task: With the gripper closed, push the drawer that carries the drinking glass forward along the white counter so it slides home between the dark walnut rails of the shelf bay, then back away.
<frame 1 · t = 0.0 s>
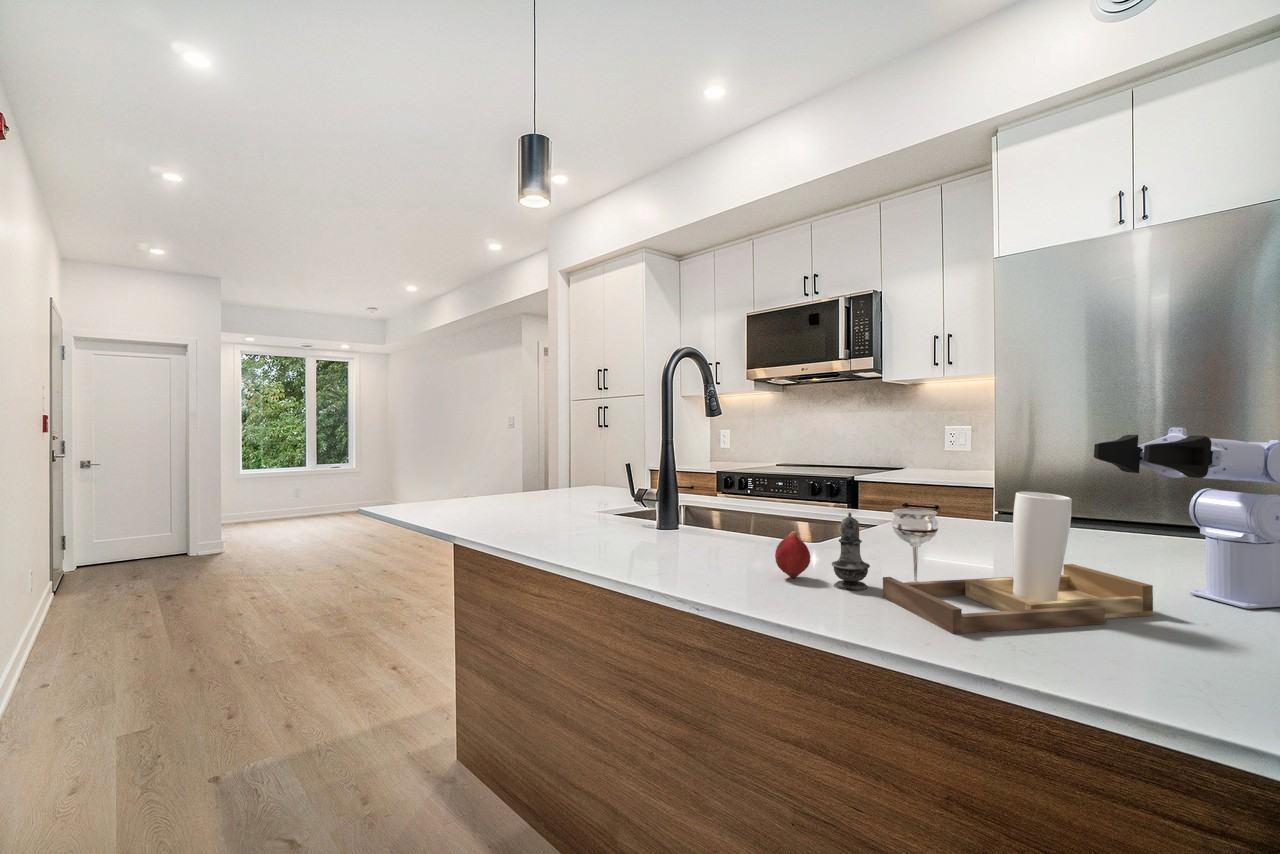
hand: (1120, 452, 86), 22 cm above the countertop, tool horizontal, fingers open, 7 cm apart
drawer: (1053, 591, 88), point 2 cm above the countertop, slide at 0.0 cm, touching drinking glass
wineglass: (915, 587, 99), on the countertop
drinking glass: (1034, 601, 87), point 1 cm above the countertop, touching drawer
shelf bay: (989, 609, 86), on the countertop
salt shaker: (850, 587, 100), on the countertop
onion: (792, 579, 106), on the countertop
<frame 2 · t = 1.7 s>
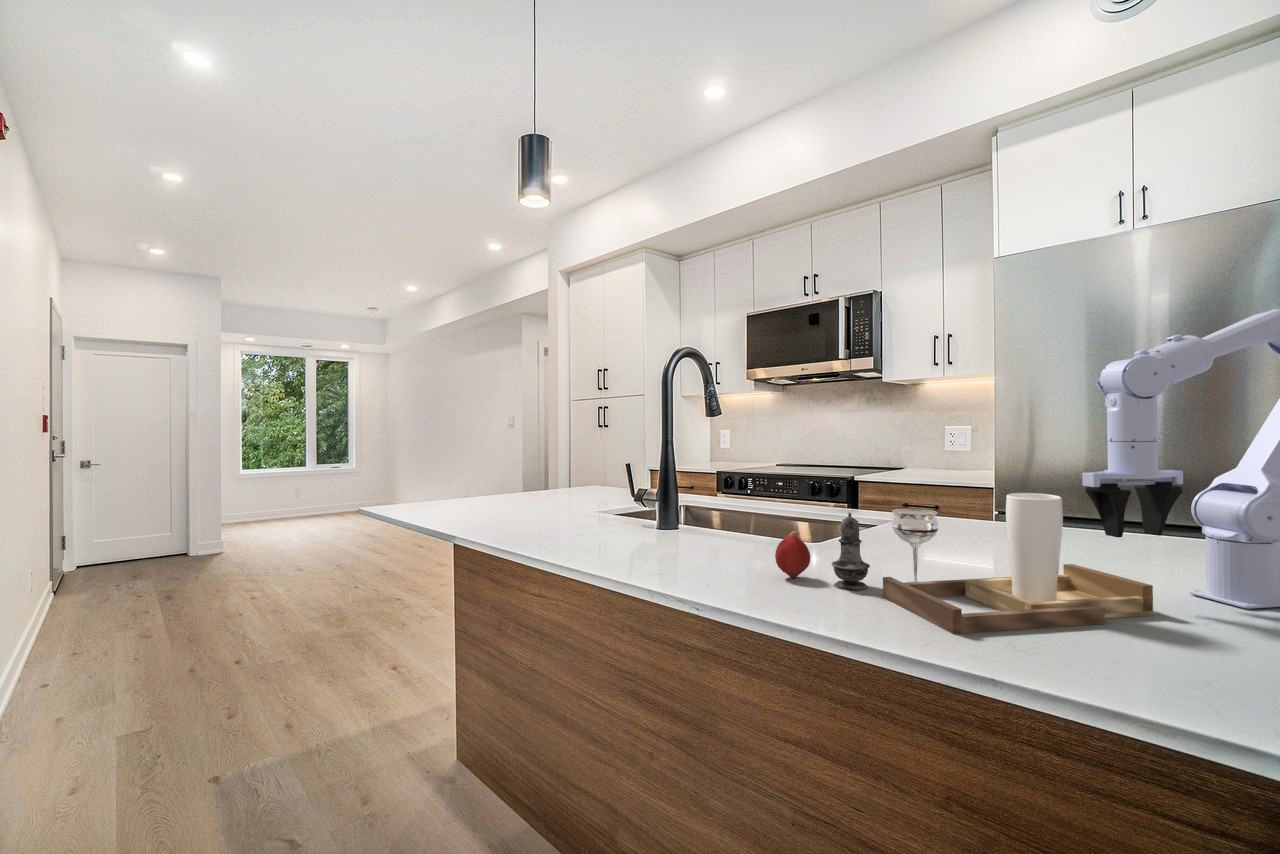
hand: (1133, 535, 89), 9 cm above the countertop, tool pointing down, fingers open, 6 cm apart
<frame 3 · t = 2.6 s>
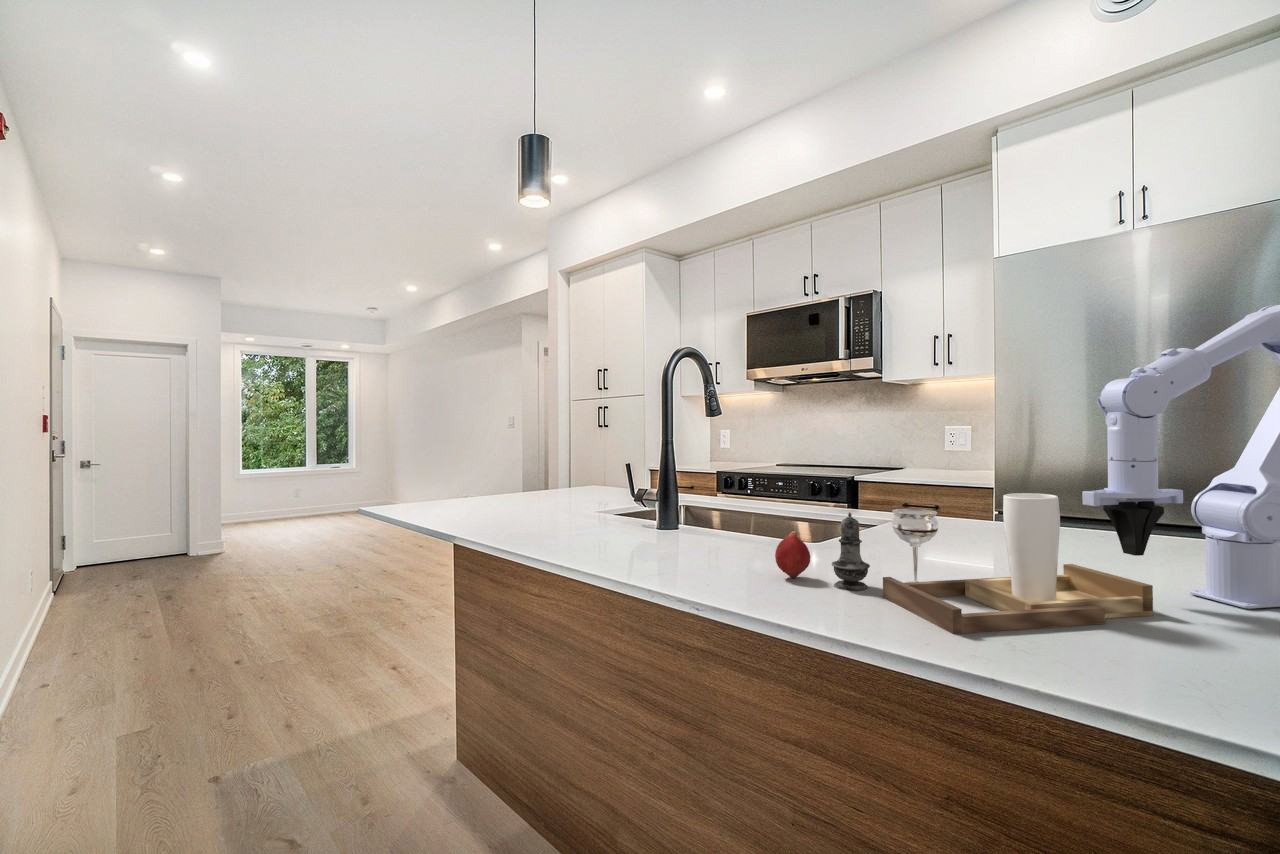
hand: (1133, 554, 89), 7 cm above the countertop, tool pointing down, fingers closed
nothing on the countertop moved.
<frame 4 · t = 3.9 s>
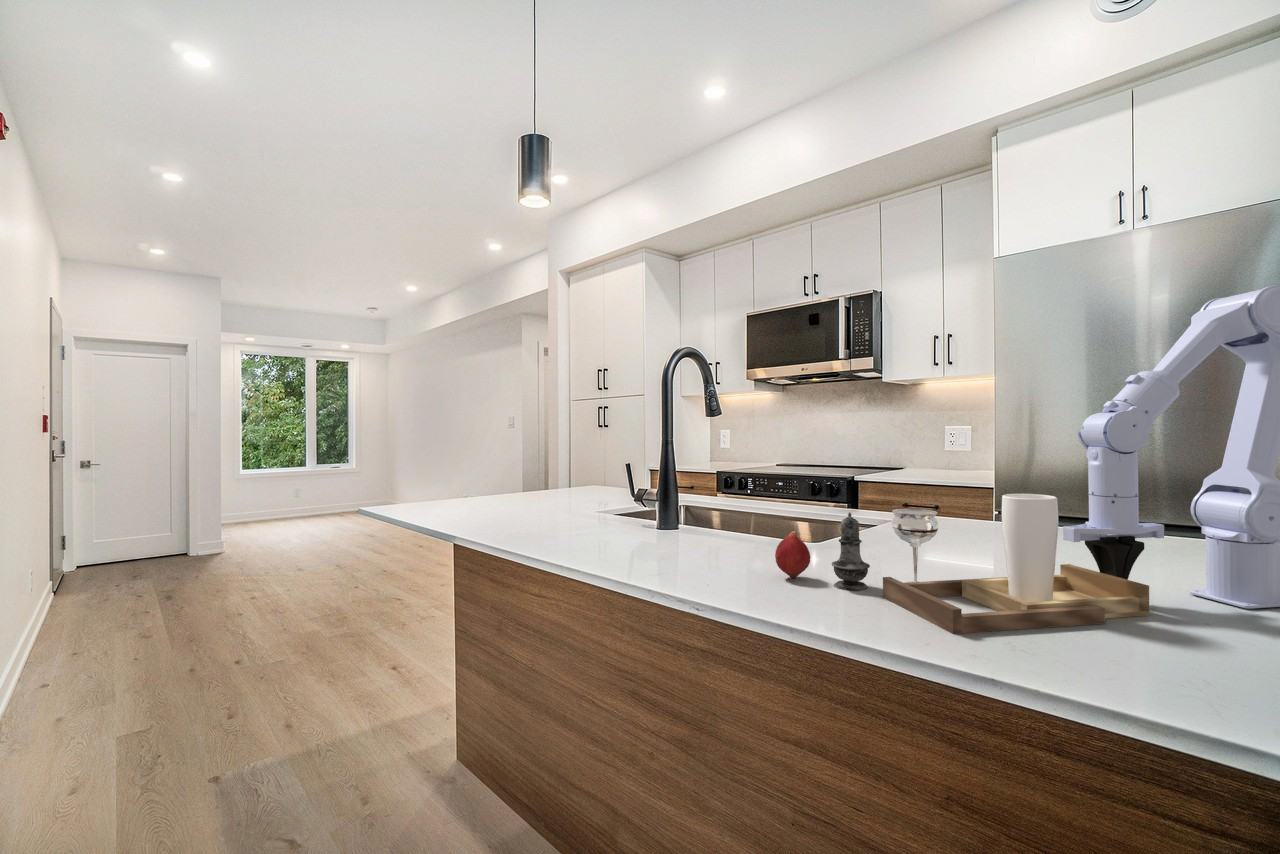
hand: (1114, 589, 89), 2 cm above the countertop, tool pointing down, fingers closed
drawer: (1049, 591, 88), point 2 cm above the countertop, slide at 0.5 cm, touching drinking glass, gripper
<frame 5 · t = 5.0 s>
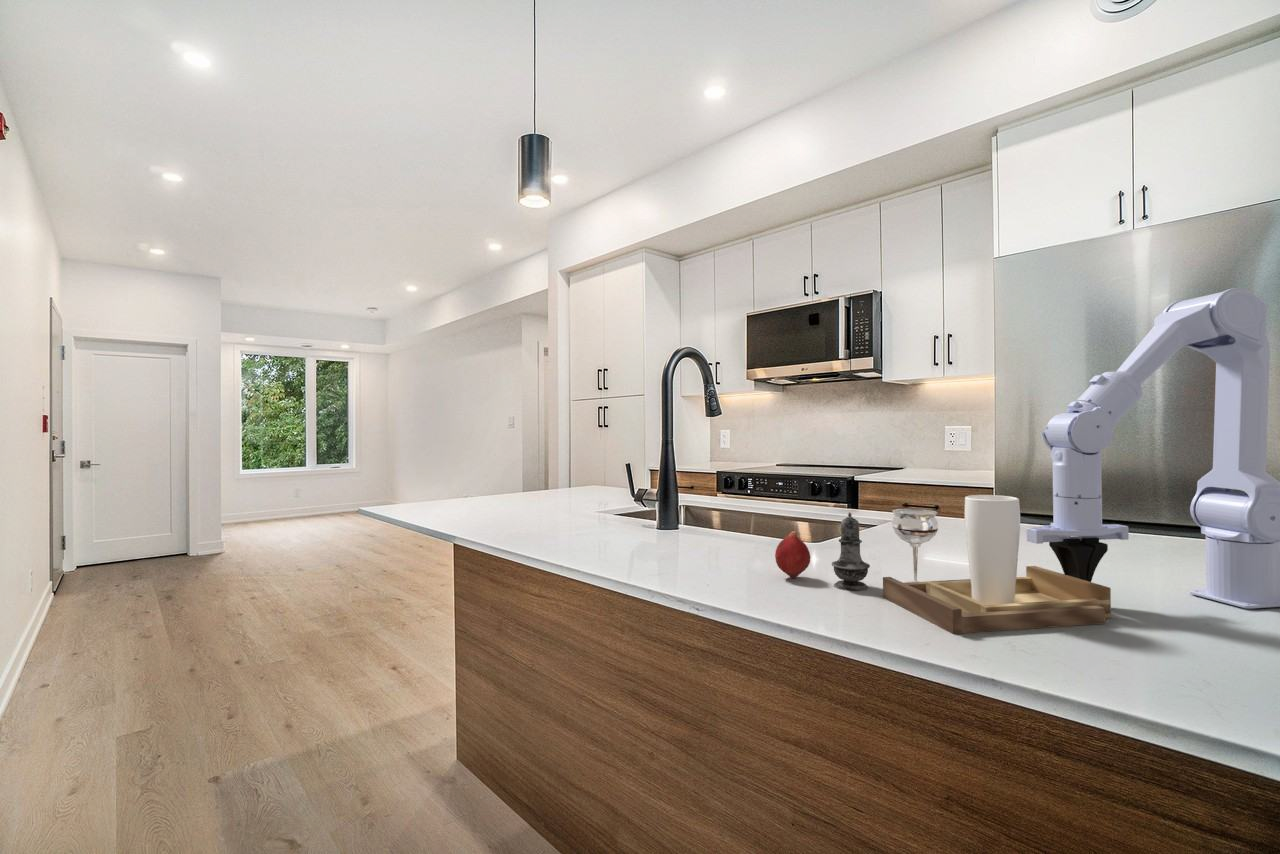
hand: (1078, 591, 88), 2 cm above the countertop, tool pointing down, fingers closed
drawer: (1012, 593, 87), point 2 cm above the countertop, slide at 6.3 cm, touching drinking glass, gripper
drinking glass: (993, 605, 86), resting on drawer
everything else where it was.
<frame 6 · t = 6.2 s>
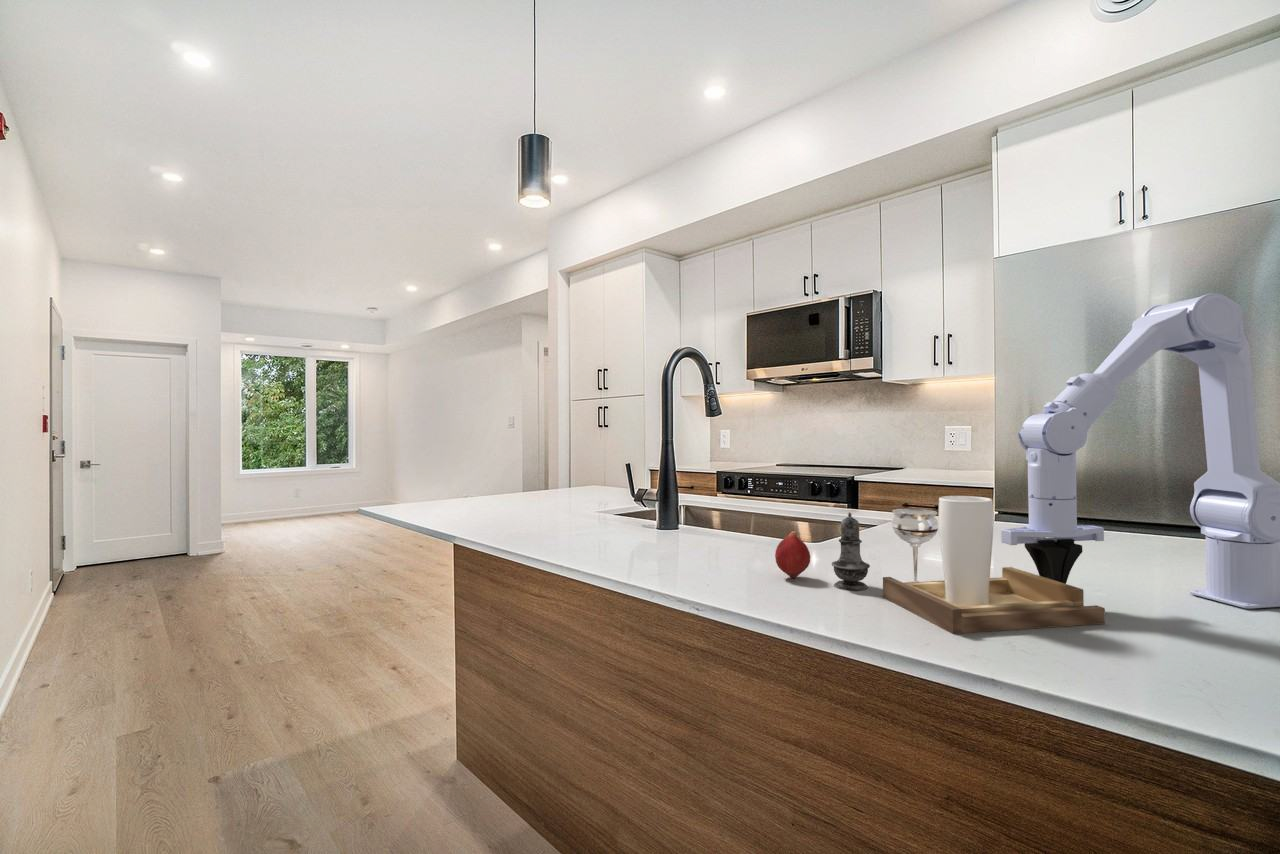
hand: (1053, 593, 88), 2 cm above the countertop, tool pointing down, fingers closed
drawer: (986, 594, 86), point 2 cm above the countertop, slide at 10.3 cm, touching drinking glass, gripper
drinking glass: (966, 607, 86), resting on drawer
everything else where it was.
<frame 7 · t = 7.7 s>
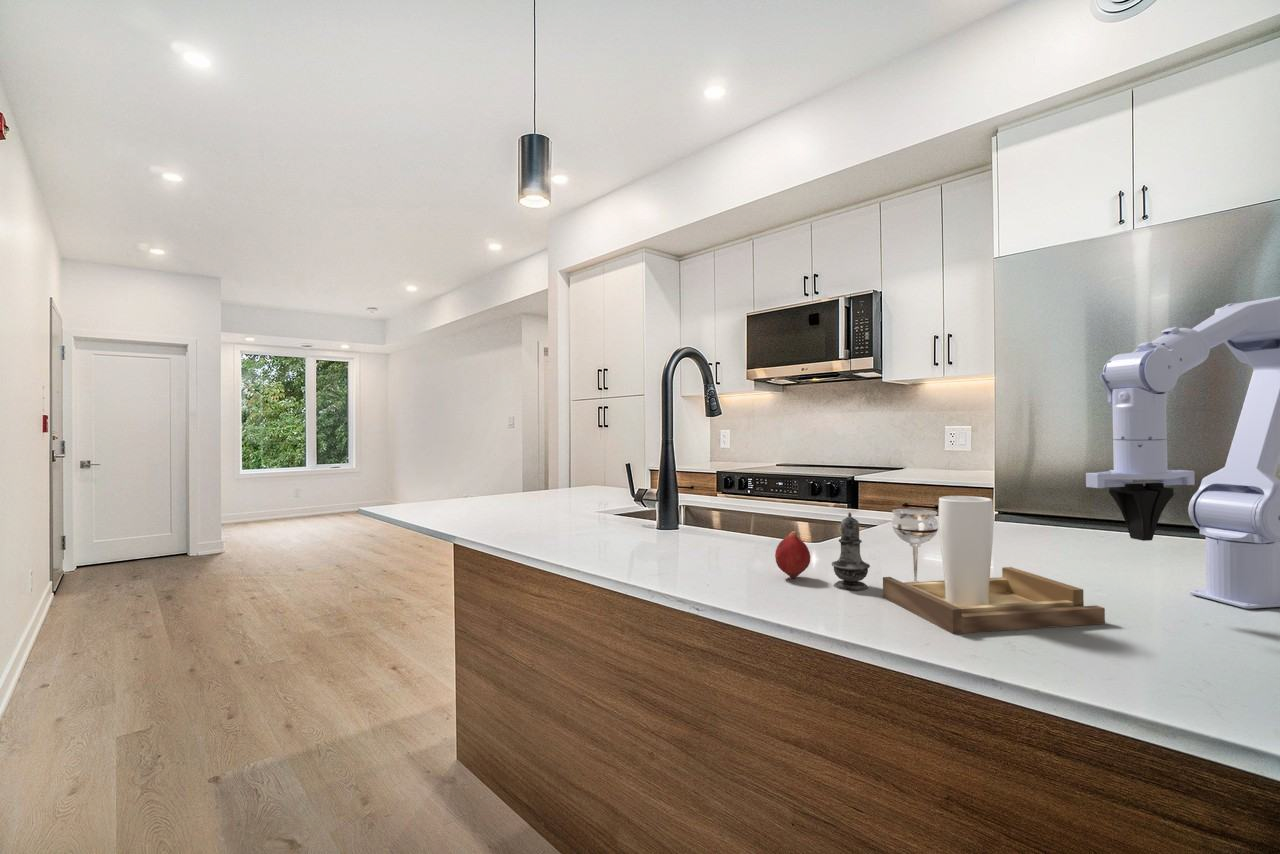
hand: (1141, 539, 84), 10 cm above the countertop, tool pointing down, fingers closed
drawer: (986, 594, 86), point 2 cm above the countertop, slide at 10.3 cm, touching drinking glass
everything else where it was.
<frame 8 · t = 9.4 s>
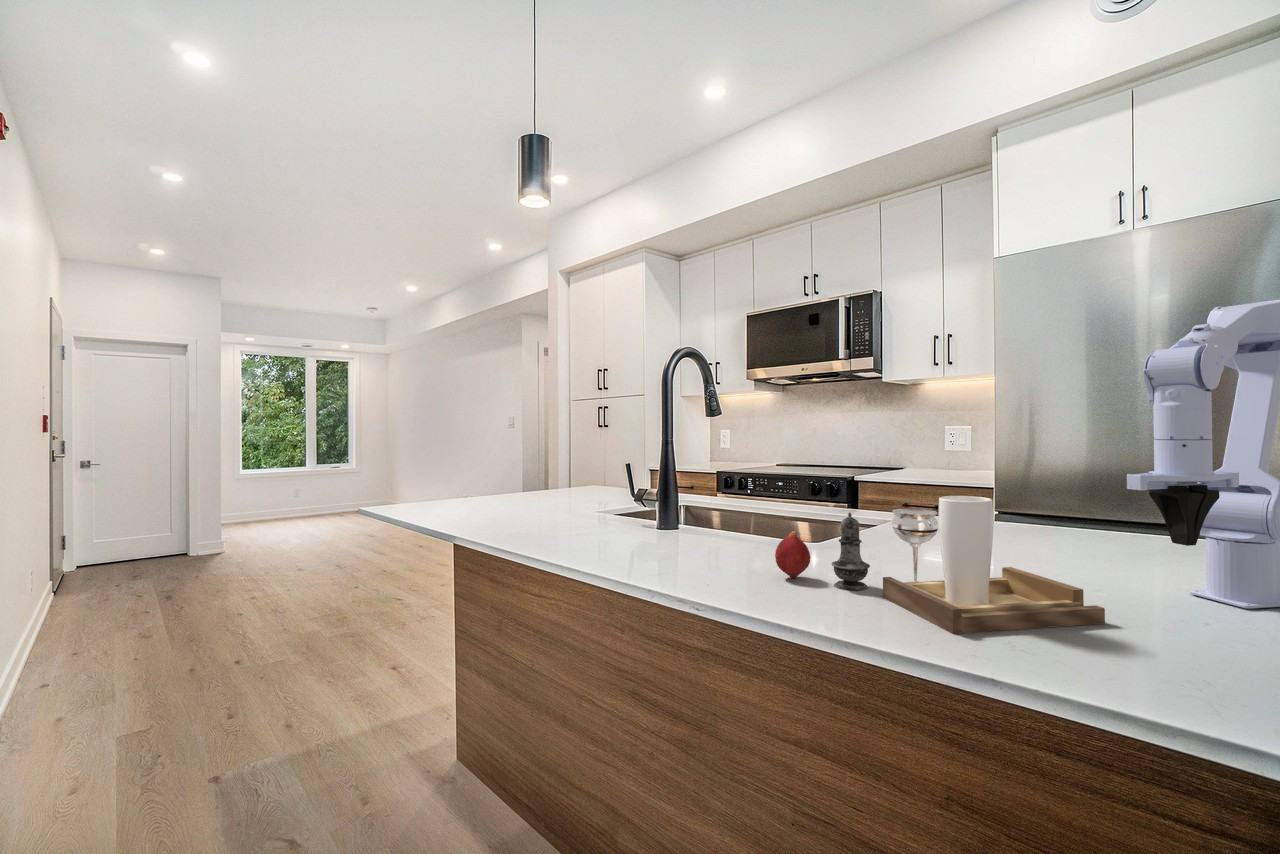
hand: (1183, 544, 80), 10 cm above the countertop, tool pointing down, fingers closed
nothing on the countertop moved.
at the end: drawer slide at 10.3 cm; drinking glass inside the target area (1.1 cm from its centre), resting on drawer; drinking glass tilted 0° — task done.
